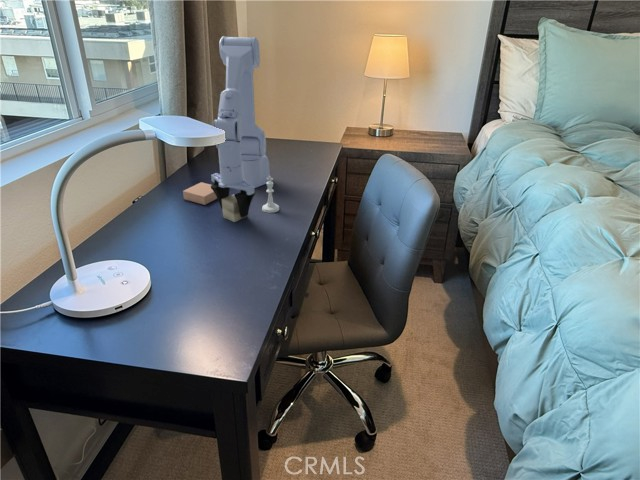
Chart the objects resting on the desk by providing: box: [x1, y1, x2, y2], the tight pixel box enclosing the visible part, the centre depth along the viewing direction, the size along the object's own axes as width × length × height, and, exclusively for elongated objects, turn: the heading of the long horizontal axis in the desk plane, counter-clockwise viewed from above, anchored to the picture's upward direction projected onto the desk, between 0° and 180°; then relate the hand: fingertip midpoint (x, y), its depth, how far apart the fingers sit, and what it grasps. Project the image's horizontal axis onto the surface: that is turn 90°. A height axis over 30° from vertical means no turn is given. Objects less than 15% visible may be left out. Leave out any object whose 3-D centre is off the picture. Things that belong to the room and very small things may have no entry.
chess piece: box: [261, 175, 280, 214], centre depth 125 cm, size 5×5×10 cm
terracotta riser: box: [182, 181, 218, 206], centre depth 133 cm, size 8×8×3 cm
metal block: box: [221, 193, 248, 223], centre depth 121 cm, size 4×4×6 cm
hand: (234, 212), depth 122 cm, fingers open, 7 cm apart
